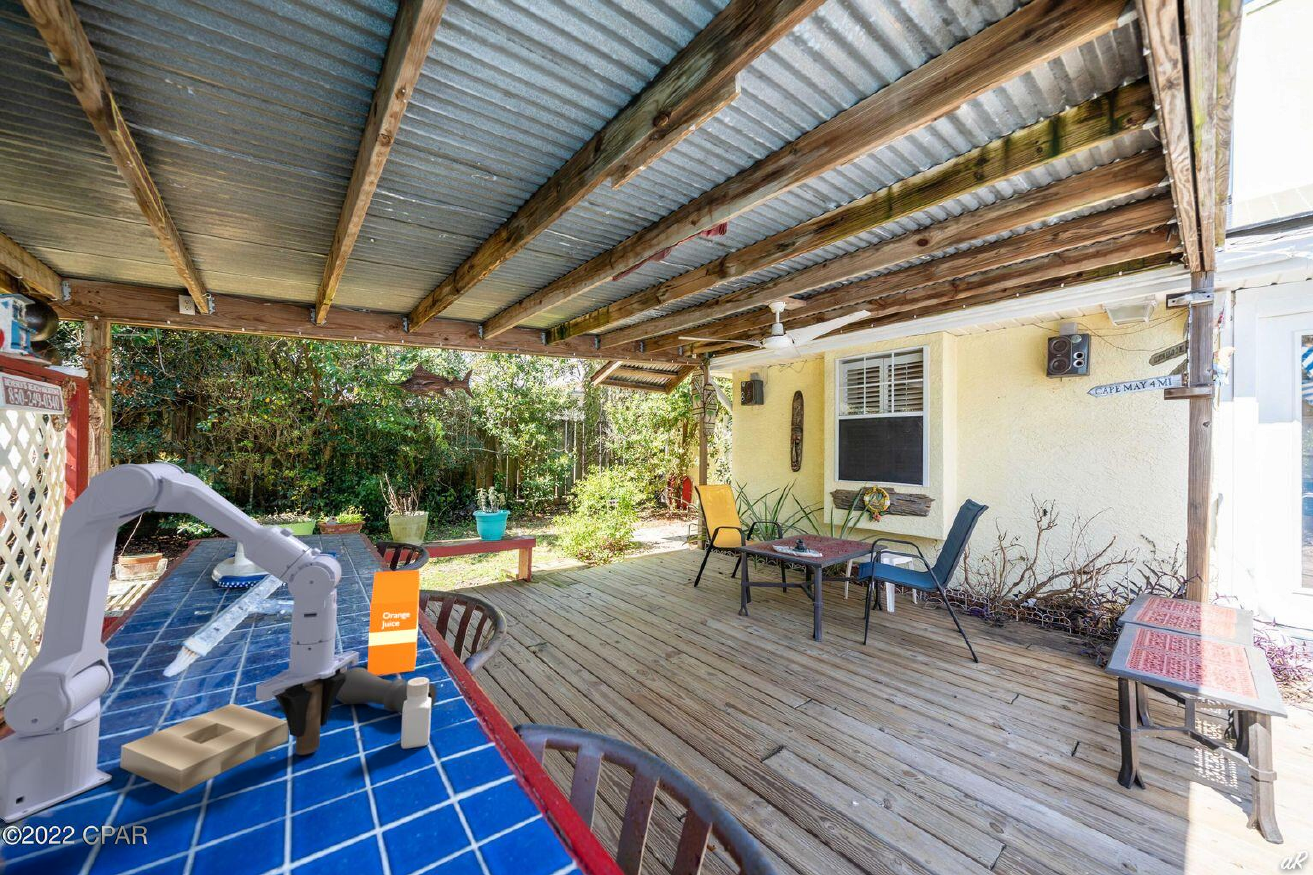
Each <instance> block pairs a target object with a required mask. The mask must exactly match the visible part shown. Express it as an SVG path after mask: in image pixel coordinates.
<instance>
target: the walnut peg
mask: <svg viewBox="0 0 1313 875" xmlns="http://www.w3.org/2000/svg"><path fill="white" fill-rule="evenodd" d="M322 686H323V683H322V682H321V681H310V682H308V683H305V684H303V687H305V690H307V691H310V692H312V696H311V698H310V701H309V704H308V708H307V713H306V725H305V732H304V735H303V736H301V737H295V754H296V755H299V756H300V755H301V756H302V755H309V754H312V753H314V752H316V751H318V750H319V748H320V742H321V739H320V738H321V725H320V724H321V705H322Z"/></svg>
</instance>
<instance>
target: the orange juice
mask: <svg viewBox="0 0 1313 875" xmlns="http://www.w3.org/2000/svg"><path fill="white" fill-rule="evenodd" d="M370 601H371V602H370V609H369V610H370V613H369V614H370V615H369V631H368V632H369V633H368V656H367V657H368V658H367V670H368V671H369V672H371V673H373V674H374V675H376V676H377V675H378V676H379V675H389V674H396V673H405V672H412V671H413V672H414V671H415V670H416V663H417V662H416V661H417V652H418V648H417V647H418V630H419V607H420V606H419V605H420V603H419V602H420V570H417V569H416V570H415V569H413V570H395V571H394V570H393V571H379V572H378V571H374V577H373V586H372V595H371V600H370Z"/></svg>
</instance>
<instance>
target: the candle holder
mask: <svg viewBox="0 0 1313 875" xmlns="http://www.w3.org/2000/svg"><path fill="white" fill-rule="evenodd" d="M340 673H344V674H346V681H345V682H344V684H343V685H342V687H341V689H340V690H339V692H338V694H337V696H336V698H337V700H338V701H339V702H340V703H342V704H343V705H359V704H371V703H372V704H378V705H382V706H383V708H384V709H385V710H386V711H388V712H394V711H397V712H398V713H399V714H400V715H401V716H402V710H403V705H404V701H406V700H407V682H408V681H406V680H405V679H404V678H397V679H395V680H393V681H392V680H388V679H383V678H381V677H379V675H378V676H377V675H374V674H373V673H371V672H369V671H368V669H366V668H364V667H353V668H349V669H347V667H345V668H343V669H340ZM437 692H438V691H437V687H436V685H435V684H434V683H431V682H429V692H428V697H430V698H431V711H432V710H433V708H434V706H435V705H436V700H437V697H438V696H437Z"/></svg>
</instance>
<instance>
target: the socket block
mask: <svg viewBox="0 0 1313 875" xmlns="http://www.w3.org/2000/svg"><path fill="white" fill-rule="evenodd" d="M288 736H289V727H288V723H287V720H284V719H281V718H279V717H275V716H272V715H269V714H266V713H263V712H261V711H257V710H254V709H250V708H248V707H244V706H241V705H238V704H236V703H235V704H234V703H232V702H231V703H228V704H227V705H223V706H222V707H219V708H216V709H214V710H211V711H209V712H206V713H204V714H201V715H198V716H195V717H193V718H190V719H188V720H185V721H183V722H180V723H177V724H174V725H172V726H169V727H166V728H164V729H162V730H159V731H156V732H154V733H151V734H148V735H145V736H143V737H141V738H138V739H136V740H133V741H131V742H128V743H125V744H123V745H121V748H120V749H121V750H120V765H119V766H120V768H121V769H123V770H125V771H128V772H130V773H132V774H135V775H137V776H138V777H141V778H143V779H146V780H148V781H150V782H153V783H154V784H157V785H159V786H161V787H164V788H166V789H168V790H171V791H172V792H174V793H177V794H181V793H184V792H186V791H189V790H190V789H191V788H194V787H196V786H198V785H200V784H203V783H205V782H206V781H209V780H211V779H212V778H214V777H217V776H218V775H220V774H222V773H225V772H227V771H229V770H231V769H232V768H235V767H237V766H239V765H241V764H243V763H245V762H247V761H250V760H251V759H254V758H256V757H258V756H259V755H261V754H264V753H265V752H267V751H269V750H272V749H274V748H276V747H279V746H280V745H282V744H285V743H286V742H288V738H289V737H288Z"/></svg>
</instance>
